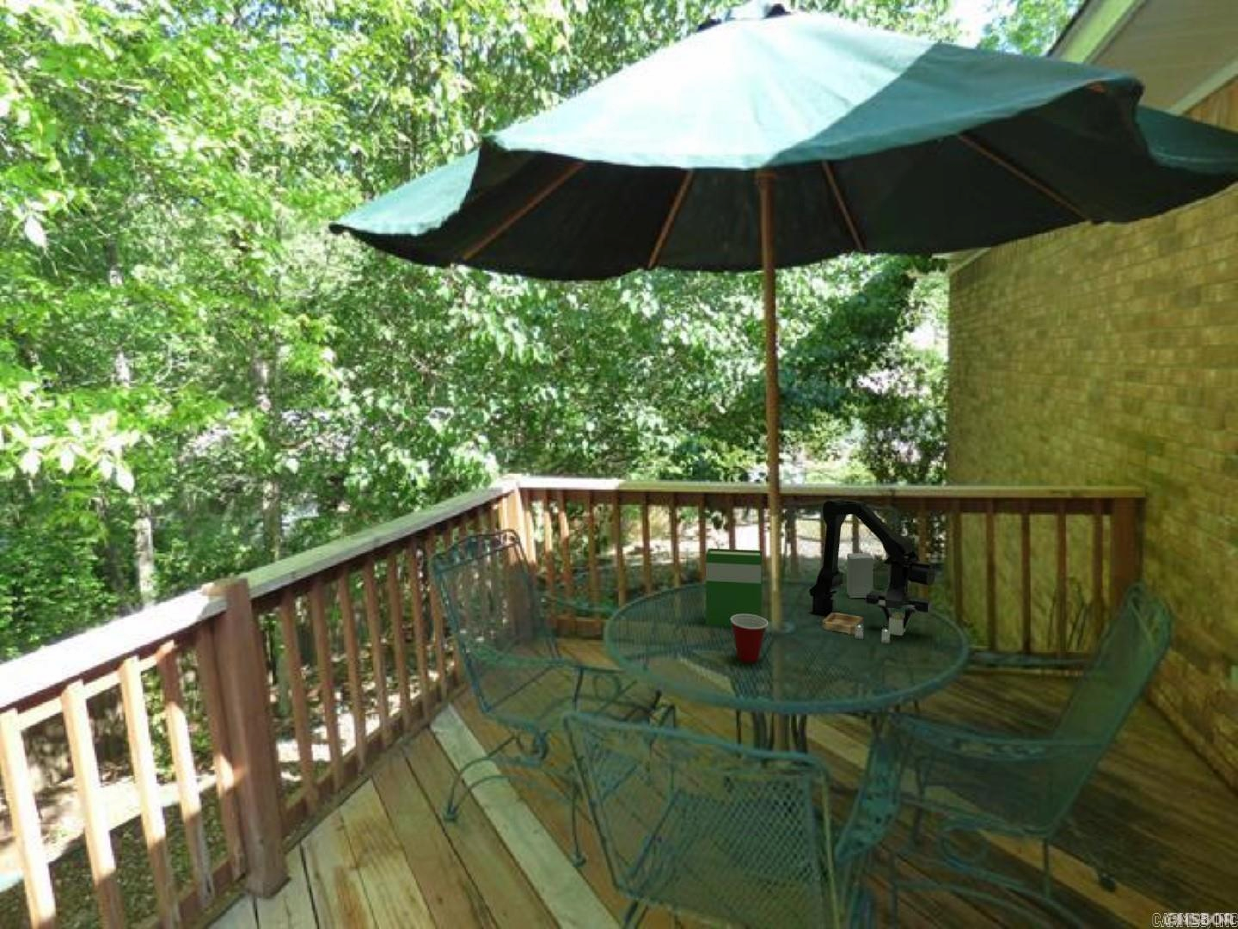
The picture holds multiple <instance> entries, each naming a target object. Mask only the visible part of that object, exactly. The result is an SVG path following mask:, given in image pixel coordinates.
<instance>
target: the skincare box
mask: <svg viewBox="0 0 1238 929" xmlns="http://www.w3.org/2000/svg"><path fill="white" fill-rule="evenodd" d="M846 554H847V556H846V594H847V596H848V595H849V596H848V598H849V597H850V598H859V597H864V598H866V596H867V594H868V593H869V592H871V591H874V589H873V588H874V587H873V586H874V585H873V582H874V580H873V578H874V557H873V556H872V555H871V553H869V552H861V553H859V552H857V553H855V552H854V553H852V552H851V553H849V552H847V553H846ZM850 598H849V599H850Z"/></svg>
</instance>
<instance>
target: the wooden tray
mask: <svg viewBox="0 0 1238 929" xmlns="http://www.w3.org/2000/svg"><path fill="white" fill-rule="evenodd" d="M856 624H862V625H863V626H864V617H862V616H859V615H853V614H847V613H846V614H845V613H839V612H833V613H831V614H830V615H829V616H826V617H825V618H824V619H823V620H822V624H821V625H822V626H821V628H822V627H825V628H826V629H829V630H834V631H839V632H846V633H848V634H847V635H850V634H851V635H854V636H855V625H856Z"/></svg>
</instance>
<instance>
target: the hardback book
mask: <svg viewBox="0 0 1238 929" xmlns="http://www.w3.org/2000/svg"><path fill="white" fill-rule="evenodd" d="M762 586H763V550H758V549H737V548H736V549H735V548H734V549H733V548H731V549H730V548H715V547H714V548H710V547H708V548H707V551H706V553H705V625H706V626H715V627H730V628H731V627H732V628H733V626H732V622H731V619H730V618H731V617H732V616H734V615H737V614H751V615H757V616H760V617H762V599H763V597H762V596H763V595H762V594H763V593H762V591H763V590H762V589H763V587H762Z"/></svg>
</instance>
